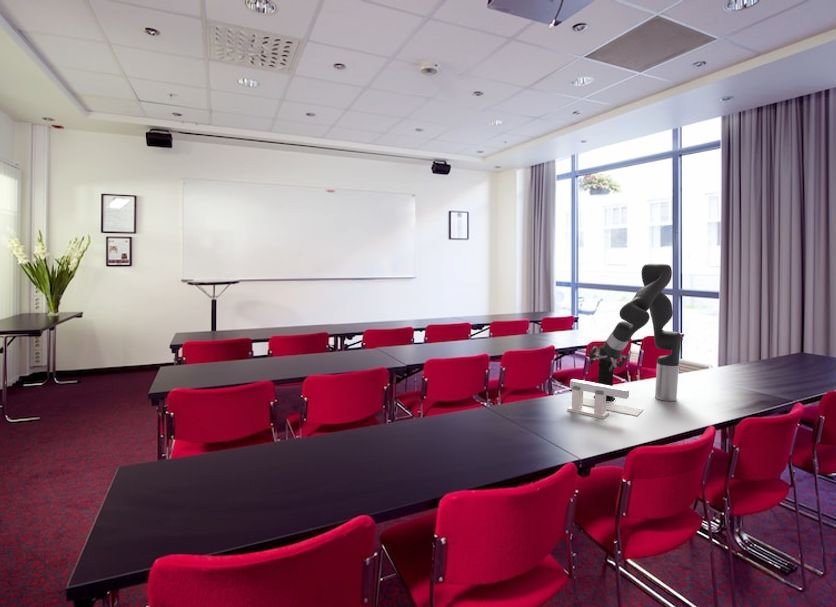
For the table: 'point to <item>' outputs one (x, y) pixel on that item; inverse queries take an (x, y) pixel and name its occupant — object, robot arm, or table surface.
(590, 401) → the mat
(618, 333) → the robot arm
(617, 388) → the rail
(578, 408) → the rack
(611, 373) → the handle grip
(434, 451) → the table surface
